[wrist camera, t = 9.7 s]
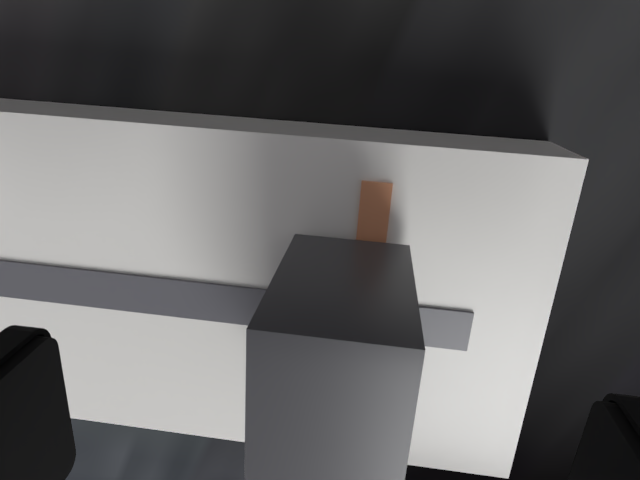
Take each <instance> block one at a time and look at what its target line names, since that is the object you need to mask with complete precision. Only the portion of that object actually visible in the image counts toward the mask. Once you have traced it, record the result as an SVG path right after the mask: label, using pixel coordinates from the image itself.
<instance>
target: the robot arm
mask: <svg viewBox="0 0 640 480" xmlns="http://www.w3.org/2000/svg"><path fill="white" fill-rule="evenodd" d="M75 457H76V449H75V443H74V437H73V431H72V425H71V418H70V412H69V406H68V400H67V394H66V388H65V382H64V376H63V370H62V364H61V358H60V351H59V345H58V342H57V341H56V339H54V338H52V337H51V335H50V333H49V332H48V330H46V329H44V328H37V327H28V326H19V325H11V326H9V327H7V328H5V329H4V330H2V331H1V332H0V480H65V479H66V477H67V476H68V475H69V473H70V471H71V469H72V467H73V465H74V461H75ZM568 480H640V397H638V396H630V395H621V394H612V393H611V394H607V395H606V396H605V397H604V399H603V401H596V402H595V403H594V404H593V406H592V408H591V411H590V414H589V417H588V420H587V423H586V426H585V429H584V432H583V435H582V438H581V441H580V444H579V447H578V450H577V453H576V456H575V459H574V462H573V465H572V468H571V471H570V474H569V477H568Z"/></svg>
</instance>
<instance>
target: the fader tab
mask: <svg viewBox="0 0 640 480" xmlns="http://www.w3.org/2000/svg"><path fill="white" fill-rule="evenodd" d="M424 356H425V344H424V338H423V331H422V324H421V318H420V311H419V304H418V298H417V291H416V285H415V278H414V271H413V265H412V258H411V251H410V245H403V244H392V243H382V242H372V241H362V240H352V239H342V238H332V237H322V236H312V235H302V234H295V235H294V237H293V239H292V241H291V243H290V245H289V247H288V249H287V251H286V253H285V255H284V257H283V258H282V260H281V262H280V264H279V266H278V268H277V270H276V272H275V274H274V276H273V278H272V280H271V282H270V284H269V286H268V288H267V290H266V292H265V294H264V296H263V298H262V299H261V301H260V303H259V305H258V307H257V309H256V311H255V313H254V315H253V317H252V319H251V321H250V323H249V325H248V327H247V329H246V392H245V468H244V480H405V476H406V470H407V464H408V457H409V451H410V445H411V438H412V432H413V426H414V419H415V413H416V407H417V400H418V394H419V388H420V381H421V375H422V369H423V362H424Z"/></svg>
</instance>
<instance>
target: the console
mask: <svg viewBox="0 0 640 480" xmlns="http://www.w3.org/2000/svg"><path fill="white" fill-rule="evenodd" d="M588 161H589V159H587V158H585V157H582V156H580V155H578V154H576V153H574V152H572V151H569V150H567V149H565V148H563V147H561V146H559V145H556V144H554V143H552V142H550V141H540V140H527V139H514V138H502V137H489V136H476V135H463V134H451V133H438V132H425V131H413V130H400V129H387V128H374V127H362V126H349V125H336V124H323V123H311V122H298V121H285V120H273V119H260V118H247V117H234V116H222V115H209V114H196V113H183V112H171V111H158V110H145V109H133V108H120V107H107V106H94V105H82V104H69V103H56V102H43V101H31V100H18V99H5V98H0V332H1V331H2V330H4V329H5V328H7V327H9V326H11V325H19V326H28V327H37V328H44V329H46V330H48V332H49V333H50V335H51V337H52V338H54V339H56V341H57V342H58V345H59V351H60V358H61V364H62V370H63V376H64V382H65V388H66V394H67V400H68V406H69V412H70V418H75V419H82V420H89V421H97V422H104V423H111V424H118V425H125V426H132V427H140V428H147V429H154V430H161V431H168V432H176V433H183V434H190V435H197V436H204V437H212V438H219V439H226V440H233V441H240V442H245V392H246V329H247V327H248V325H249V323H250V321H251V319H252V317H253V315H254V313H255V311H256V309H257V307H258V305H259V303H260V301H261V299H262V298H263V296H264V294H265V292H266V290H267V288H268V286H269V284H270V282H271V280H272V278H273V276H274V274H275V272H276V270H277V268H278V266H279V264H280V262H281V260H282V258H283V257H284V255H285V253H286V251H287V249H288V247H289V245H290V243H291V241H292V239H293V237H294V235H295V234H302V235H312V236H322V237H332V238H342V239H352V240H362V241H372V242H382V243H392V244H403V245H410V251H411V258H412V265H413V271H414V278H415V285H416V291H417V298H418V304H419V311H420V318H421V324H422V331H423V338H424V344H425V356H424V362H423V369H422V375H421V381H420V388H419V394H418V400H417V407H416V413H415V419H414V426H413V432H412V438H411V445H410V451H409V457H408V464H407V465H413V466H420V467H427V468H435V469H442V470H449V471H456V472H463V473H471V474H478V475H485V476H492V477H499V478H507V479H509V475H510V471H511V467H512V463H513V459H514V455H515V451H516V447H517V443H518V439H519V435H520V431H521V427H522V423H523V419H524V415H525V411H526V407H527V403H528V399H529V395H530V391H531V387H532V383H533V379H534V375H535V371H536V368H537V364H538V360H539V356H540V352H541V348H542V344H543V340H544V336H545V332H546V328H547V324H548V320H549V316H550V312H551V308H552V304H553V300H554V296H555V292H556V288H557V284H558V280H559V276H560V272H561V268H562V264H563V260H564V256H565V252H566V248H567V244H568V240H569V236H570V232H571V228H572V224H573V220H574V216H575V212H576V208H577V204H578V200H579V196H580V192H581V188H582V184H583V181H584V177H585V173H586V169H587V165H588Z"/></svg>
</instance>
